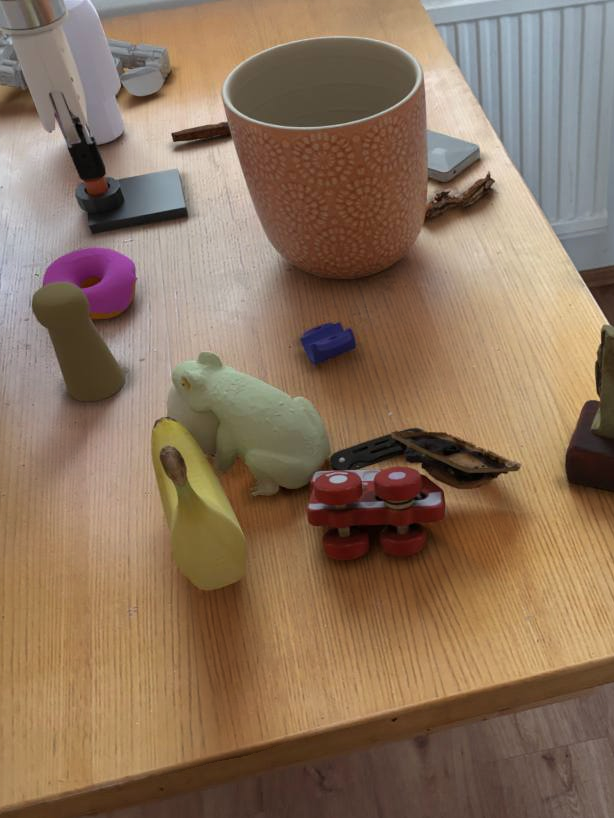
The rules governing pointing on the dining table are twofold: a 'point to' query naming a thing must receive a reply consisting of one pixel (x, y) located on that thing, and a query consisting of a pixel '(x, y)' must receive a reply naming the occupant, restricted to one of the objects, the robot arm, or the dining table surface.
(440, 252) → the dining table surface
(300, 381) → the dining table surface
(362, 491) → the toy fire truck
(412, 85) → the planter
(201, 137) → the kitchen knife
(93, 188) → the button
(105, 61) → the soap bottle
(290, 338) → the dining table surface
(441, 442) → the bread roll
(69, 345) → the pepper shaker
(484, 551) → the dining table surface
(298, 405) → the figurine
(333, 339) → the bracket
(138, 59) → the architectural model
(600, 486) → the small statue on base
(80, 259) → the donut
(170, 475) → the banana
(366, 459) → the folding knife
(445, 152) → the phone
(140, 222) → the push button panel
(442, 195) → the tree bark
